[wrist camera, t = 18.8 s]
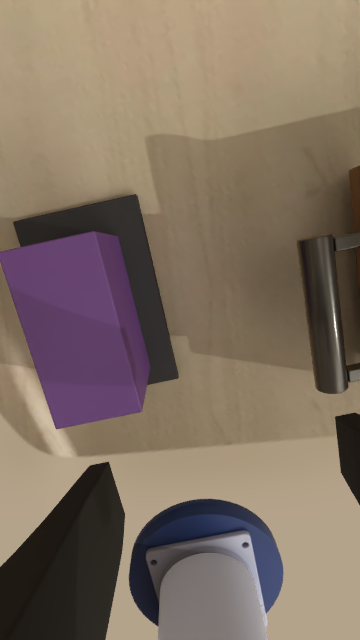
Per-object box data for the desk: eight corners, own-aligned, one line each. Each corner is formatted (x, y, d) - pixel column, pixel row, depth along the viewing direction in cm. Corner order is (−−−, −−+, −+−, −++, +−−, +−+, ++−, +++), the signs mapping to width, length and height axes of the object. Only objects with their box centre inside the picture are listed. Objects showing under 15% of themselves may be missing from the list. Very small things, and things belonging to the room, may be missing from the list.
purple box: (118, 235, 18) (94, 230, 13) (150, 367, 20) (142, 412, 14) (48, 250, 18) (-4, 252, 13) (87, 380, 20) (55, 430, 15)
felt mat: (178, 375, 20) (178, 378, 20) (71, 397, 21) (68, 401, 20) (137, 195, 18) (136, 193, 18) (16, 222, 18) (12, 221, 18)
